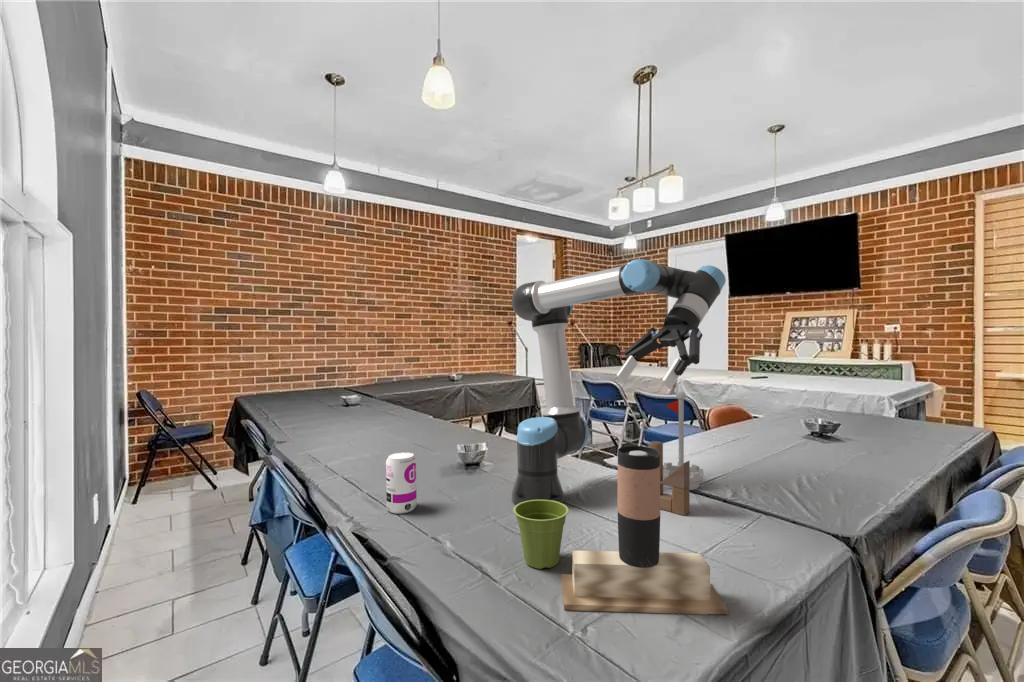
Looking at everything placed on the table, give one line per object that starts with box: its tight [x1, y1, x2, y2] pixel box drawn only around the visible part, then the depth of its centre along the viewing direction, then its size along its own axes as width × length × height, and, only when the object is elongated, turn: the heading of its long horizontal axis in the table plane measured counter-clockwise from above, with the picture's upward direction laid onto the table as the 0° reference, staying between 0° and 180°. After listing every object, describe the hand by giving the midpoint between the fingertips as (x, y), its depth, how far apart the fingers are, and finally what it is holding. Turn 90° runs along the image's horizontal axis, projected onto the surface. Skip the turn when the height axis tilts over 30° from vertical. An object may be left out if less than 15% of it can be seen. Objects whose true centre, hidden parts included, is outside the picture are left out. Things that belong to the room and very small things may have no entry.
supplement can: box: [385, 451, 418, 515], centre depth 126 cm, size 8×8×15 cm
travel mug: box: [616, 445, 661, 568], centre depth 83 cm, size 8×8×20 cm
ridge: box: [561, 549, 728, 616], centre depth 83 cm, size 28×10×7 cm, turn 86°
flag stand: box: [663, 390, 704, 491], centre depth 144 cm, size 13×13×30 cm
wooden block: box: [649, 440, 691, 516], centre depth 124 cm, size 4×11×18 cm, turn 47°
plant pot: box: [512, 500, 570, 570], centre depth 96 cm, size 12×12×11 cm
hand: (642, 382), depth 102 cm, fingers open, 13 cm apart
